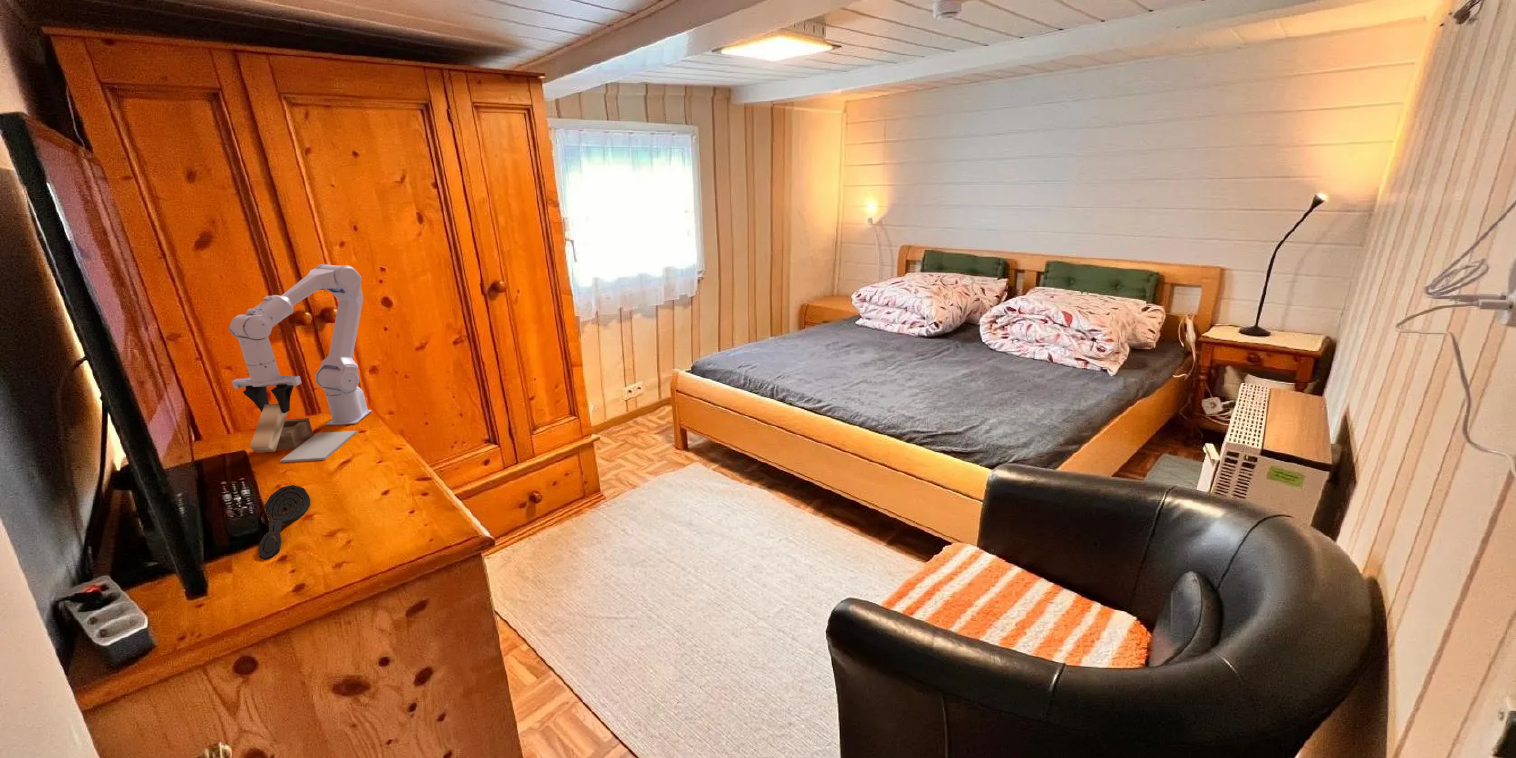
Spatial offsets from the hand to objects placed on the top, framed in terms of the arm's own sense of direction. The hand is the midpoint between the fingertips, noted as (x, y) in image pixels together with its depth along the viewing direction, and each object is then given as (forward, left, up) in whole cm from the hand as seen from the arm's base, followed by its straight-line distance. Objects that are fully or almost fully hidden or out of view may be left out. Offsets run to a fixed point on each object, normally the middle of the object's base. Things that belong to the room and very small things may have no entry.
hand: (276, 412), depth 150 cm
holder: (-1, 0, -9) cm, 9 cm away
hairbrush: (+41, +22, -10) cm, 47 cm away
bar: (+3, 0, -4) cm, 5 cm away
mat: (+3, +10, -9) cm, 14 cm away
